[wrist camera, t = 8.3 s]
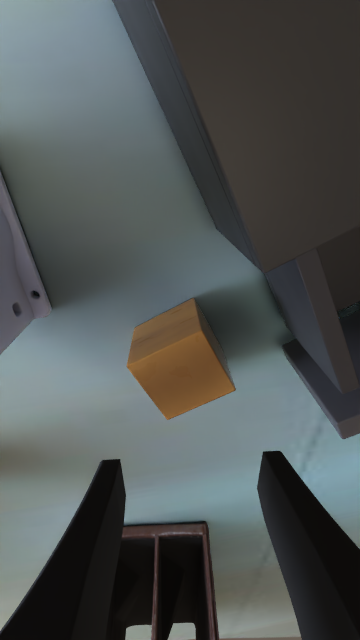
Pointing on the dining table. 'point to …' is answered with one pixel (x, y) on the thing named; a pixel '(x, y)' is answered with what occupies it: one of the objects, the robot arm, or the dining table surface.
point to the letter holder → (164, 581)
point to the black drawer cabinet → (261, 113)
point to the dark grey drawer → (324, 325)
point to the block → (179, 360)
